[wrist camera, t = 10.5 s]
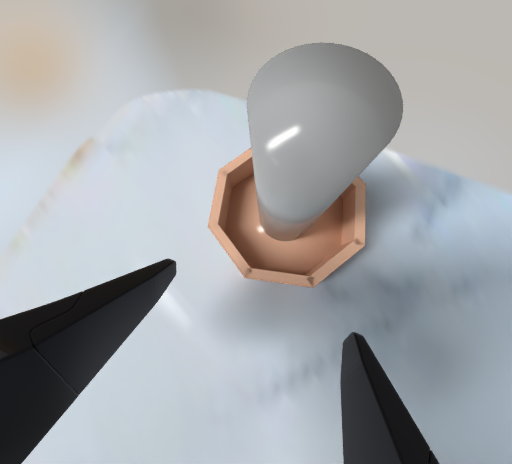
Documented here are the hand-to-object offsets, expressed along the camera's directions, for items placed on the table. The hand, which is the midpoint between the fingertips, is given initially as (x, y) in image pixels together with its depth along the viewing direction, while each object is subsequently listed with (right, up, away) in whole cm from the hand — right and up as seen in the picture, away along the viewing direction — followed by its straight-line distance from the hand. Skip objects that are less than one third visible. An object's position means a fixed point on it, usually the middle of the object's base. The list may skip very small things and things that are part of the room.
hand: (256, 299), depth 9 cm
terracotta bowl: (+3, +5, +10) cm, 11 cm away
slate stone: (+3, +5, +9) cm, 11 cm away
